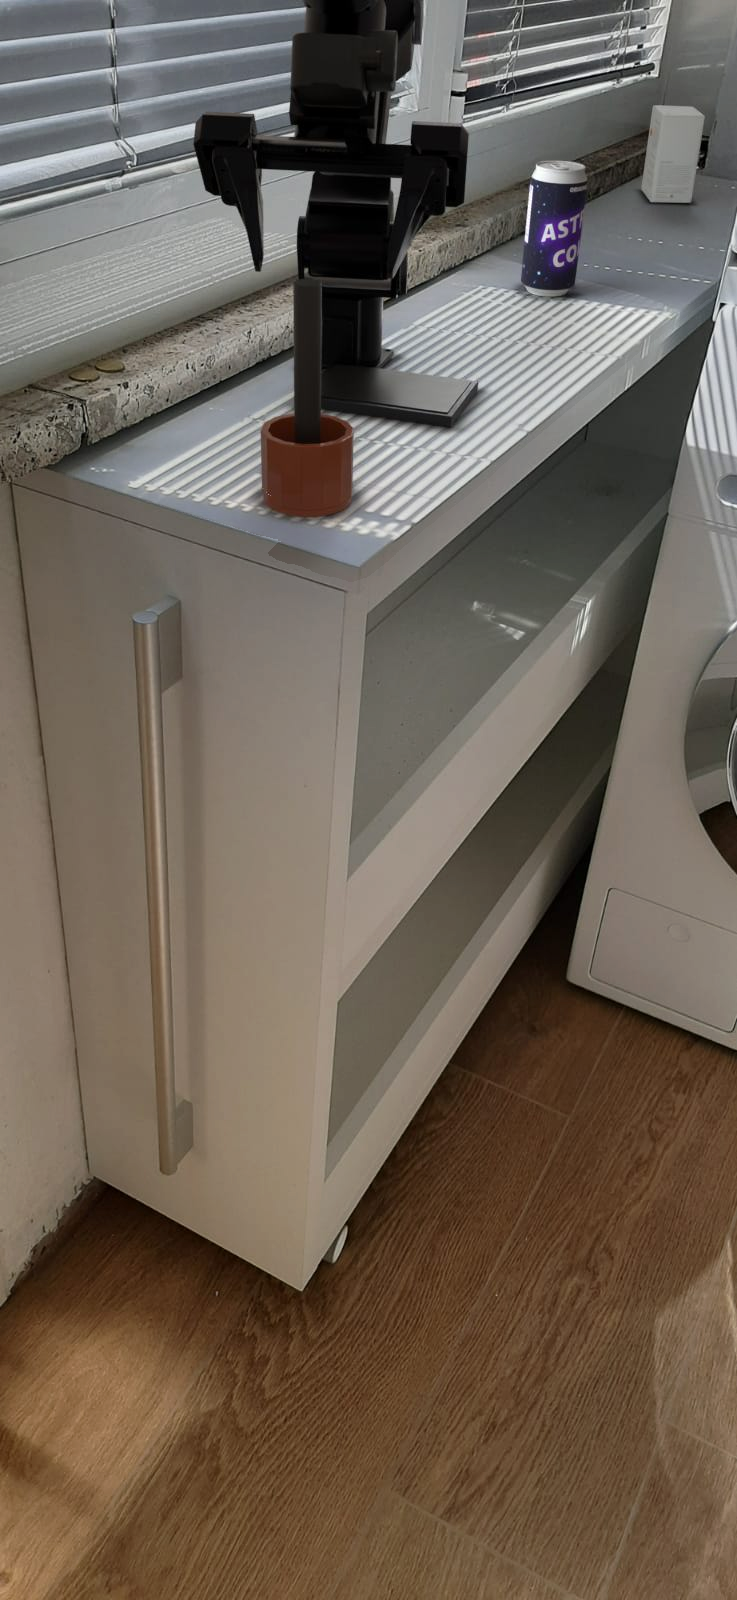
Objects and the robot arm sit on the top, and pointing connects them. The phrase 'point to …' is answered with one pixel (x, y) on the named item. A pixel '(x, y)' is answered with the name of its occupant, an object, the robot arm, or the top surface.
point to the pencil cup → (307, 468)
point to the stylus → (307, 360)
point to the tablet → (395, 394)
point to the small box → (672, 153)
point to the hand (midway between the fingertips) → (323, 271)
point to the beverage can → (553, 227)
